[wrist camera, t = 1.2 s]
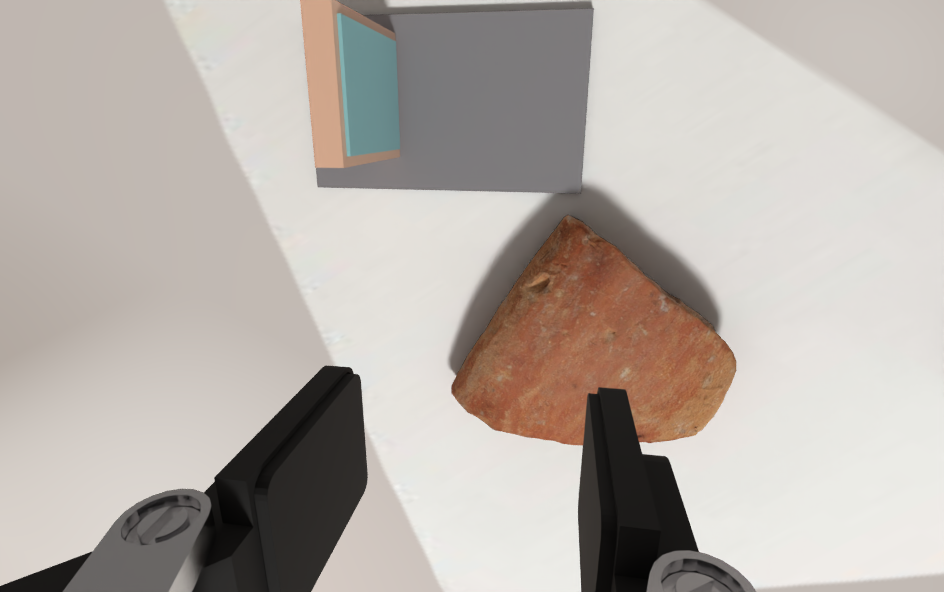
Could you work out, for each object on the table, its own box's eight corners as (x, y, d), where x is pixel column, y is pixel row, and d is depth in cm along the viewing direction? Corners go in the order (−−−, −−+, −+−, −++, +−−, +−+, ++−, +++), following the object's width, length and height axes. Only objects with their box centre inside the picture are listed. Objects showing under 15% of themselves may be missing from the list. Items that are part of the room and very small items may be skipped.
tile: (398, 33, 30) (335, -3, 22) (402, 157, 32) (347, 168, 24) (372, 34, 30) (299, -2, 22) (378, 156, 33) (315, 167, 24)
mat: (593, 10, 28) (593, 8, 28) (580, 192, 32) (580, 193, 31) (305, 18, 31) (302, 17, 31) (320, 186, 34) (317, 187, 34)
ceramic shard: (621, 537, 33) (435, 397, 35) (629, 473, 39) (469, 356, 40) (798, 386, 26) (555, 219, 28) (776, 335, 32) (575, 199, 33)
